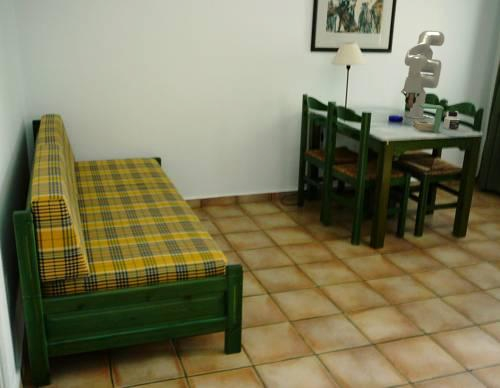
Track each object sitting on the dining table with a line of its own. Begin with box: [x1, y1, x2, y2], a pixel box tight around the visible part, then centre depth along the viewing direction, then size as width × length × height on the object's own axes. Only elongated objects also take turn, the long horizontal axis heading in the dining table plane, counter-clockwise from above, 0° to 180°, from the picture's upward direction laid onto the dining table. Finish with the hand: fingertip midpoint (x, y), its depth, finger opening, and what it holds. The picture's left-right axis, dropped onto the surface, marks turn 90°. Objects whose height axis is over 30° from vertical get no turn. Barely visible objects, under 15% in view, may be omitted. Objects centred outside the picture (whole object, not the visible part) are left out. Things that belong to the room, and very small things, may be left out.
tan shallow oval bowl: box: [412, 120, 434, 132], centre depth 347 cm, size 14×10×4 cm
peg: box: [406, 93, 415, 108], centre depth 352 cm, size 4×4×10 cm
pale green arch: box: [419, 104, 445, 134], centre depth 337 cm, size 10×13×16 cm
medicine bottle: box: [442, 110, 461, 131], centre depth 349 cm, size 7×7×12 cm
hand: (410, 102), depth 352 cm, fingers closed on peg, 4 cm apart
